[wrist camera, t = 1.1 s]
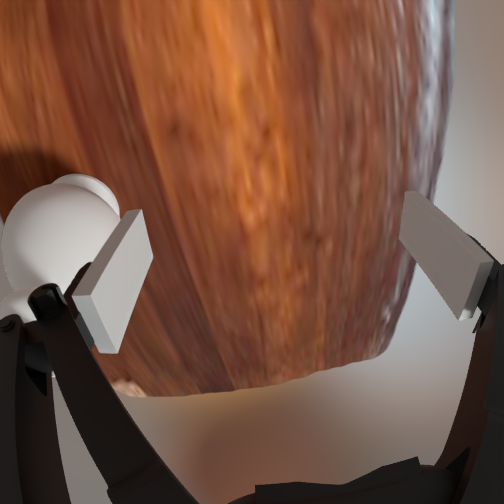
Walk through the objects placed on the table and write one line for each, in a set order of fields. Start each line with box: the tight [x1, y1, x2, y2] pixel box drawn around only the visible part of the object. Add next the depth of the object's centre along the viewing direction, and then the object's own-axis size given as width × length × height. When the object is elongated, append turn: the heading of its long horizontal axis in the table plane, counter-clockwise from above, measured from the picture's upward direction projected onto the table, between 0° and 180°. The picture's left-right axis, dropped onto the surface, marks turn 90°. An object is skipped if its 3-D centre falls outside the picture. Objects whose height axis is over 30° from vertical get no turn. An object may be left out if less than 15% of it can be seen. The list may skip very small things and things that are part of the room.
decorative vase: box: [0, 174, 120, 377], centre depth 33 cm, size 18×18×25 cm
